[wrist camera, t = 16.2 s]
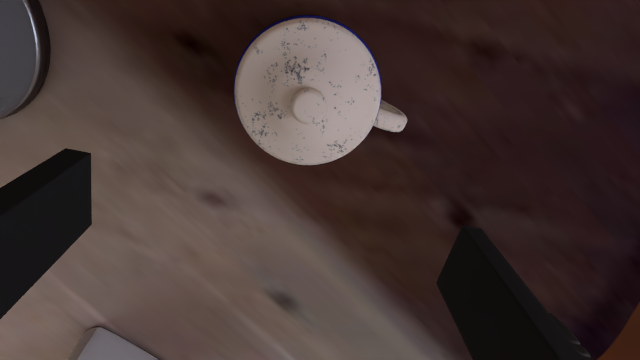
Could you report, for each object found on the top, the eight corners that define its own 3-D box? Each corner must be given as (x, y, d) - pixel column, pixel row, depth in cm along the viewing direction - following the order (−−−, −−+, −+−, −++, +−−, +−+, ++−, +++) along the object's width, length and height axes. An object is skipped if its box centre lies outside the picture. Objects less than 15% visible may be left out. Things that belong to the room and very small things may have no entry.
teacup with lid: (238, 106, 32) (204, 155, 21) (272, -7, 28) (251, -15, 18) (368, 153, 34) (396, 218, 23) (414, 53, 31) (470, 77, 20)
